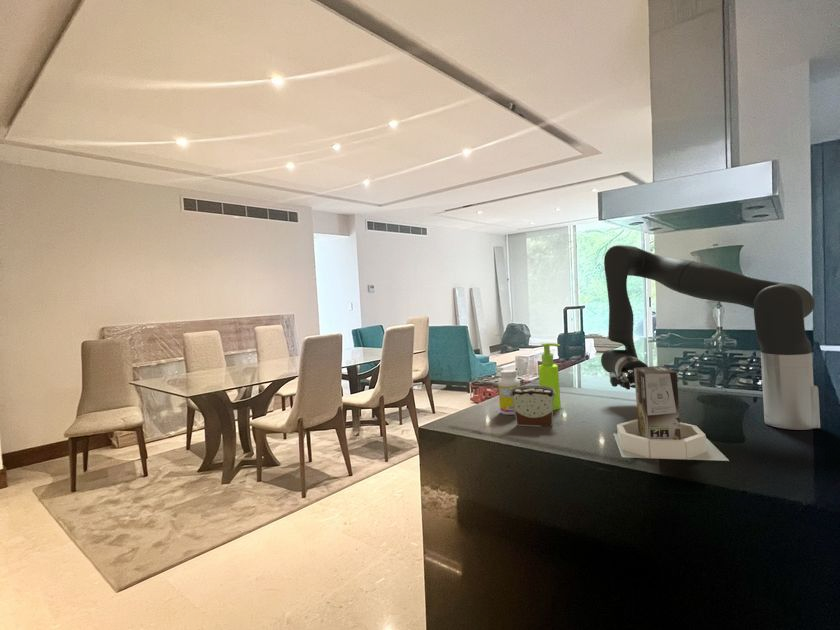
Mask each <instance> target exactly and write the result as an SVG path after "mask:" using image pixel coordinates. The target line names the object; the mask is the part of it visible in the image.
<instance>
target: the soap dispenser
mask: <svg viewBox="0 0 840 630" xmlns="http://www.w3.org/2000/svg"><path fill="white" fill-rule="evenodd" d="M559 346H561V344H559V343H555V342H550V343H549V342H547V343H542V344H541V347H543V351H544V352H543V354H541V363H542V364H540V365H538V368H537V369H538V383H539V384H538V385H540V386H548V387H552V388H553V389H554V391H555V394H556V398H555V395H554V400H553V411H555V410H560V409H561V407H562V405H561V390H560V389H561V388H560V379H559V377H560V376H559V364H555V363H554V353H552V352H551V349H550V347H557V348H558V347H559Z"/></svg>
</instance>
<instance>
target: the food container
mask: <svg viewBox="0 0 840 630" xmlns="http://www.w3.org/2000/svg"><path fill="white" fill-rule="evenodd" d="M554 395H555V398H556V394H555V391H554V389H553V388H552V387H548V386H540V385H539V384H538V385H537V384H536V385H535V384H532V385H531V384H530V385H520V386H519V387H515V388H512V389H511V391H510V396H512V400H513V405H514V411H515V415H514V416H515V420H516V426H520V427H523V426H524V427H539V428H541V427H542V426H553V421H554V418H553V417H554V410H553V400H554Z"/></svg>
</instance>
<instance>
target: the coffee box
mask: <svg viewBox="0 0 840 630" xmlns="http://www.w3.org/2000/svg"><path fill="white" fill-rule="evenodd" d="M634 374H635V388H634V389H635V399H636V400H635V401H636V402H635V403H636V414H637V419H638V430H639V436H640V437H644V438H648V439H668V440H681V435H680V422H681V421H680V406H679V405H680V404H679V402H680V401H679V387H678V386H679V384H678V372H677V371H675V370H673V369H671V368H668V367H666V366H663V365H659V366H656V365H655V366H654V365H653V366H648V367H641V368H634Z"/></svg>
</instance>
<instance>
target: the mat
mask: <svg viewBox="0 0 840 630" xmlns="http://www.w3.org/2000/svg"><path fill="white" fill-rule="evenodd" d="M612 434H613V436H614V439H615V442H616V444H617V447H618V450H619V453H620V456H621V458H629V459H630V458H631V459H632V458H633V459H635V458H636V459H652V458H651V457H650V458H648V457H645V456H642V455H638V454H635V453H632V452H628V451H625V450H622V449H621V447H620V444H619V441H618V434H617V433H612ZM706 451H707V452H705V453H702V454H700V455H697V456H694V457H692V458H689V459H686V460H687V461H689V460H690V461H693V460H695V461H718V462H719V461H725V462H730V460H729V458H727V457H726V455H724V453H722V451H720V450H719V448H717V447H716V446H715V445H714V444H713V443H712V442H711V440H709V439H708V438H707V437H706ZM657 459H662V460H665V459H664V458H656V460H657Z"/></svg>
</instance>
